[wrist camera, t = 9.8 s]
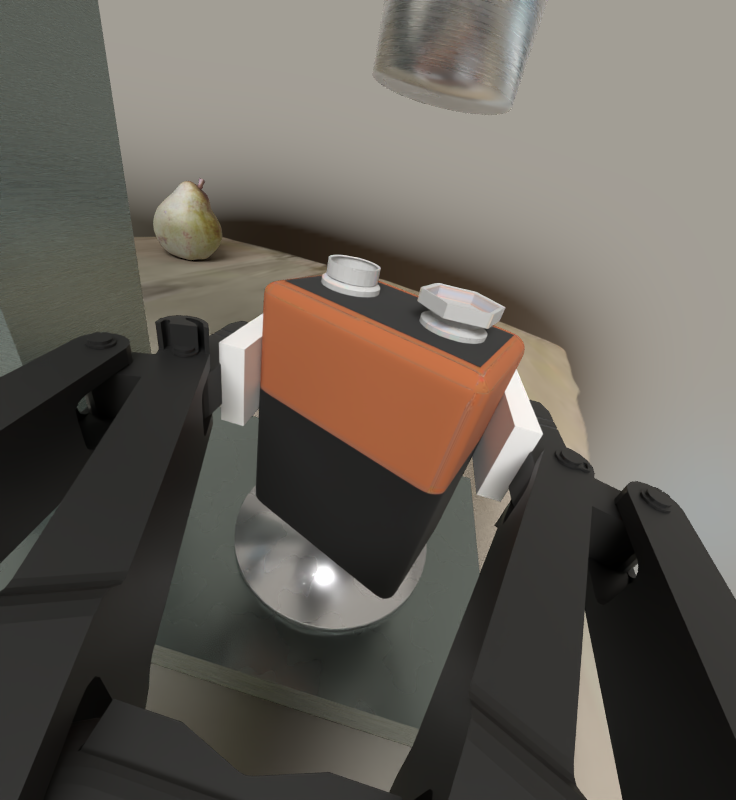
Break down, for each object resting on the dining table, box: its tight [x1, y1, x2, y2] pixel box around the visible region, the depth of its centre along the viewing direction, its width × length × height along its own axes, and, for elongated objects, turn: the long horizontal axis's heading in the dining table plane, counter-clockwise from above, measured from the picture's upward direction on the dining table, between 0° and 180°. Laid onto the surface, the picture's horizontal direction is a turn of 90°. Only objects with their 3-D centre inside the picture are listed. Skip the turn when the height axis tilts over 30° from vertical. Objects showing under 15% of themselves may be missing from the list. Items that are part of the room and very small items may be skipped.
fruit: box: [153, 178, 222, 260], centre depth 56 cm, size 10×9×12 cm
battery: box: [256, 255, 524, 599], centre depth 12 cm, size 4×7×10 cm, turn 55°
